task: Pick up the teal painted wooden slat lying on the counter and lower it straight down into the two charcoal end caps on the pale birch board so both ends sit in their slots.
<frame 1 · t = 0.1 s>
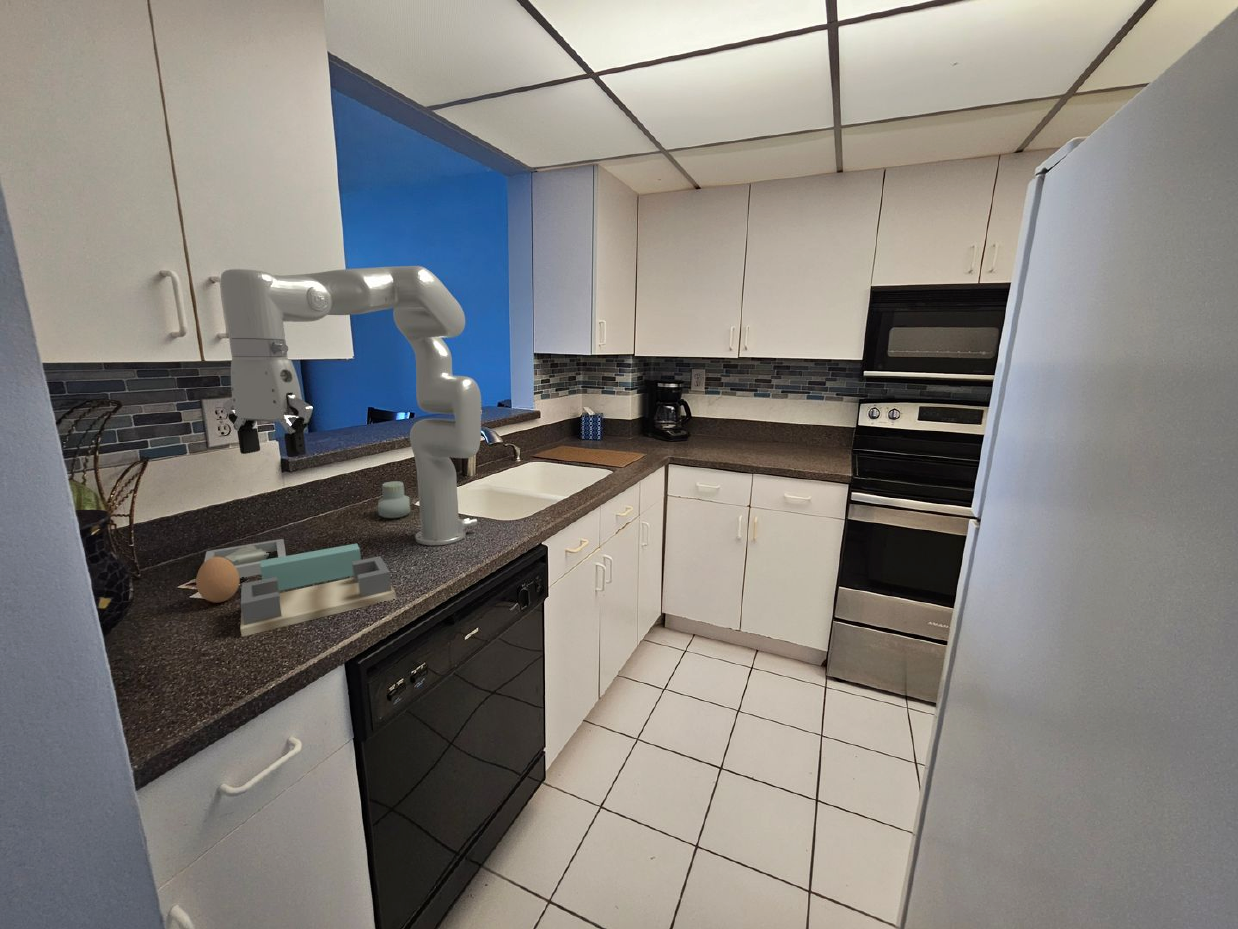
hand: (273, 454, 87), 31 cm above the worktop, tool pointing down, fingers open, 9 cm apart
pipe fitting: (246, 567, 118), resting in parts tray
air freshener: (395, 516, 154), on the worktop
base board: (321, 603, 100), on the worktop
slat: (315, 580, 111), on the worktop
egg: (221, 602, 101), on the worktop
parts tray: (247, 565, 117), on the worktop
end caps: (319, 587, 99), on the base board, point 4 cm above the worktop
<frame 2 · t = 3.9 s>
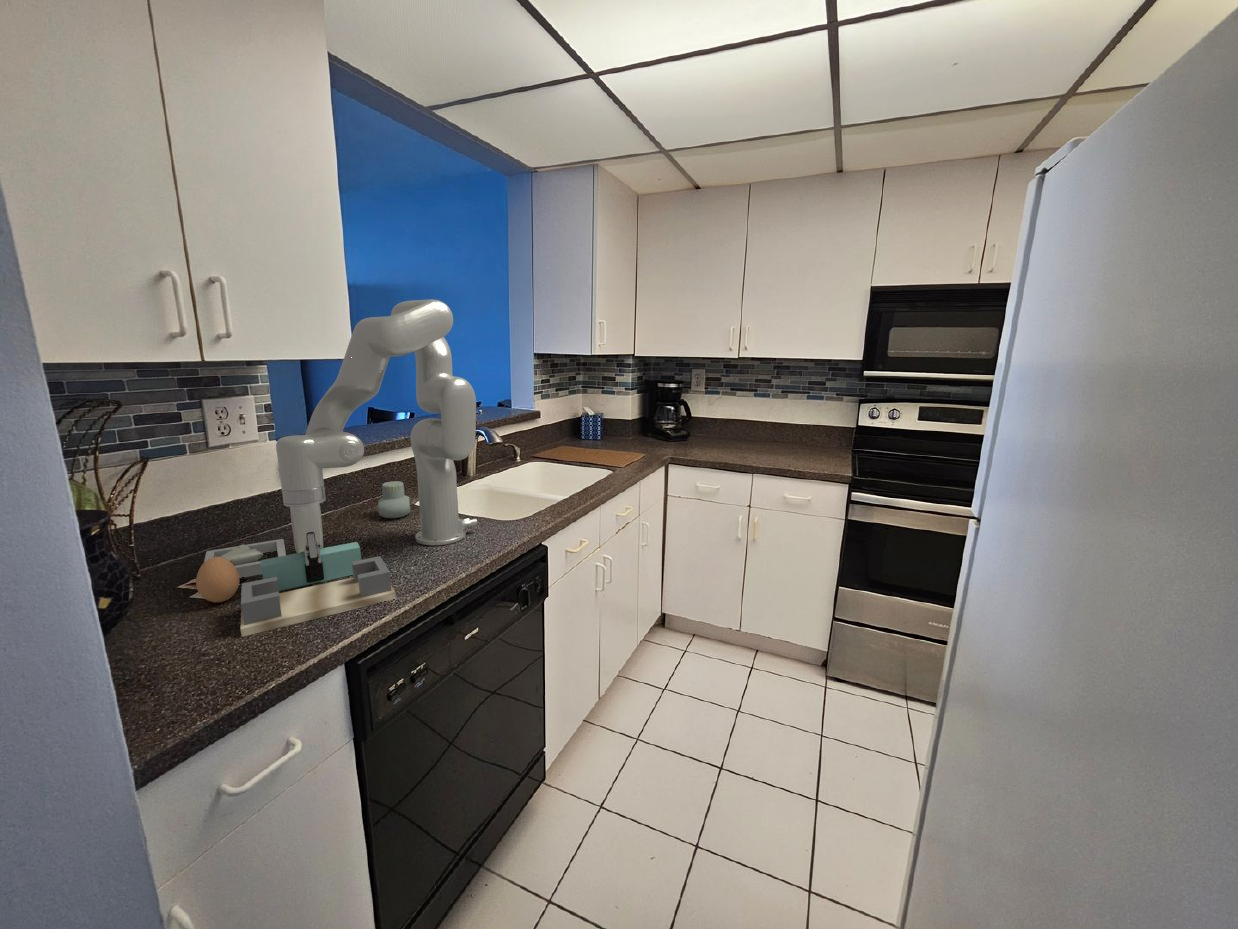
hand: (314, 576, 110), 1 cm above the worktop, tool pointing down, fingers closed on slat, 3 cm apart
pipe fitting: (241, 567, 118), resting in parts tray
slat: (315, 579, 111), on the worktop, touching gripper
everything else where it was.
when the fingers open (3 cm above the worktop, at t = 10.3 s): slat drops 1 cm, resting on base board.
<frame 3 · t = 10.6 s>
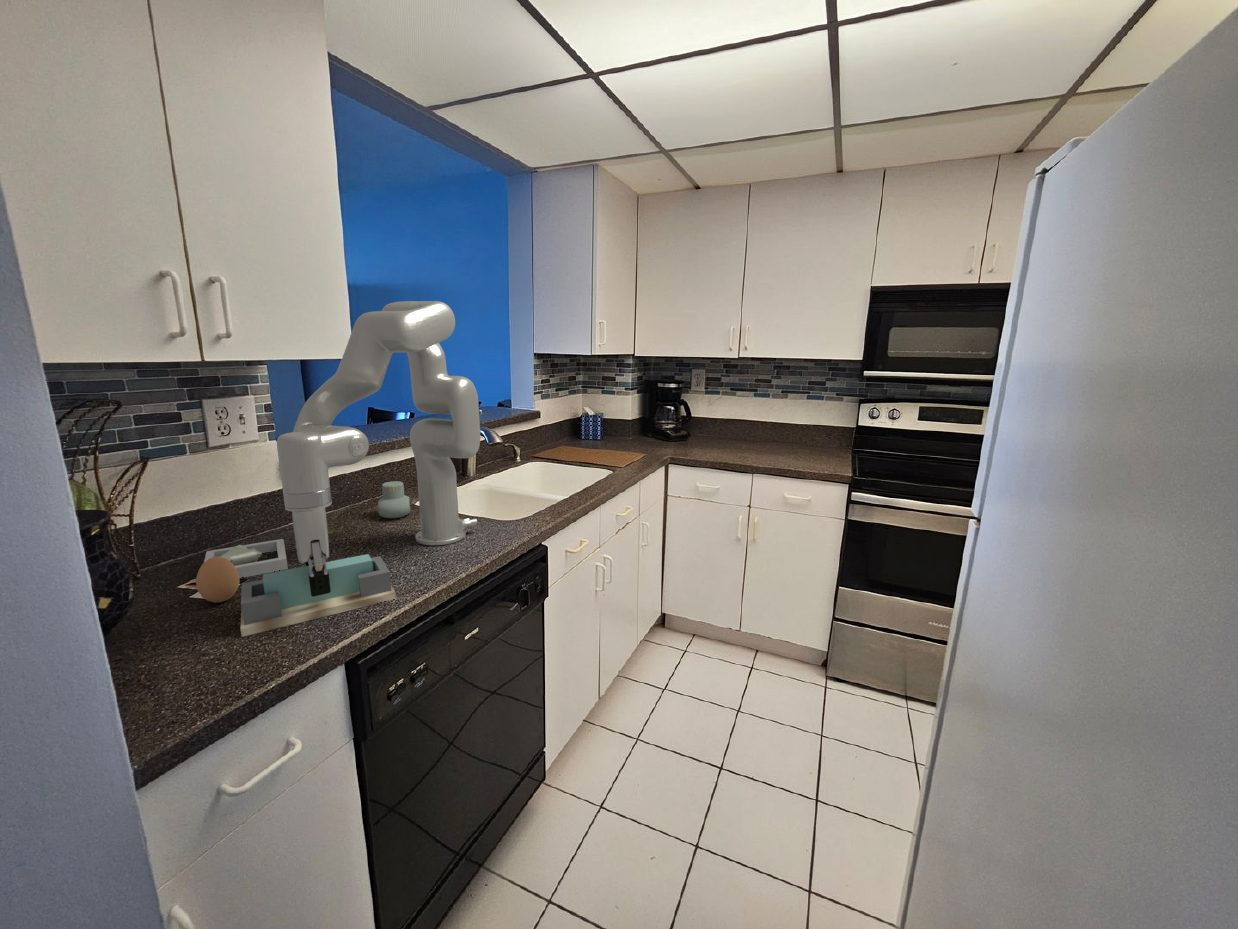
hand: (318, 586, 99), 4 cm above the worktop, tool pointing down, fingers open, 7 cm apart
slat: (322, 595, 100), point 1 cm above the worktop, touching base board
everything else where it was.
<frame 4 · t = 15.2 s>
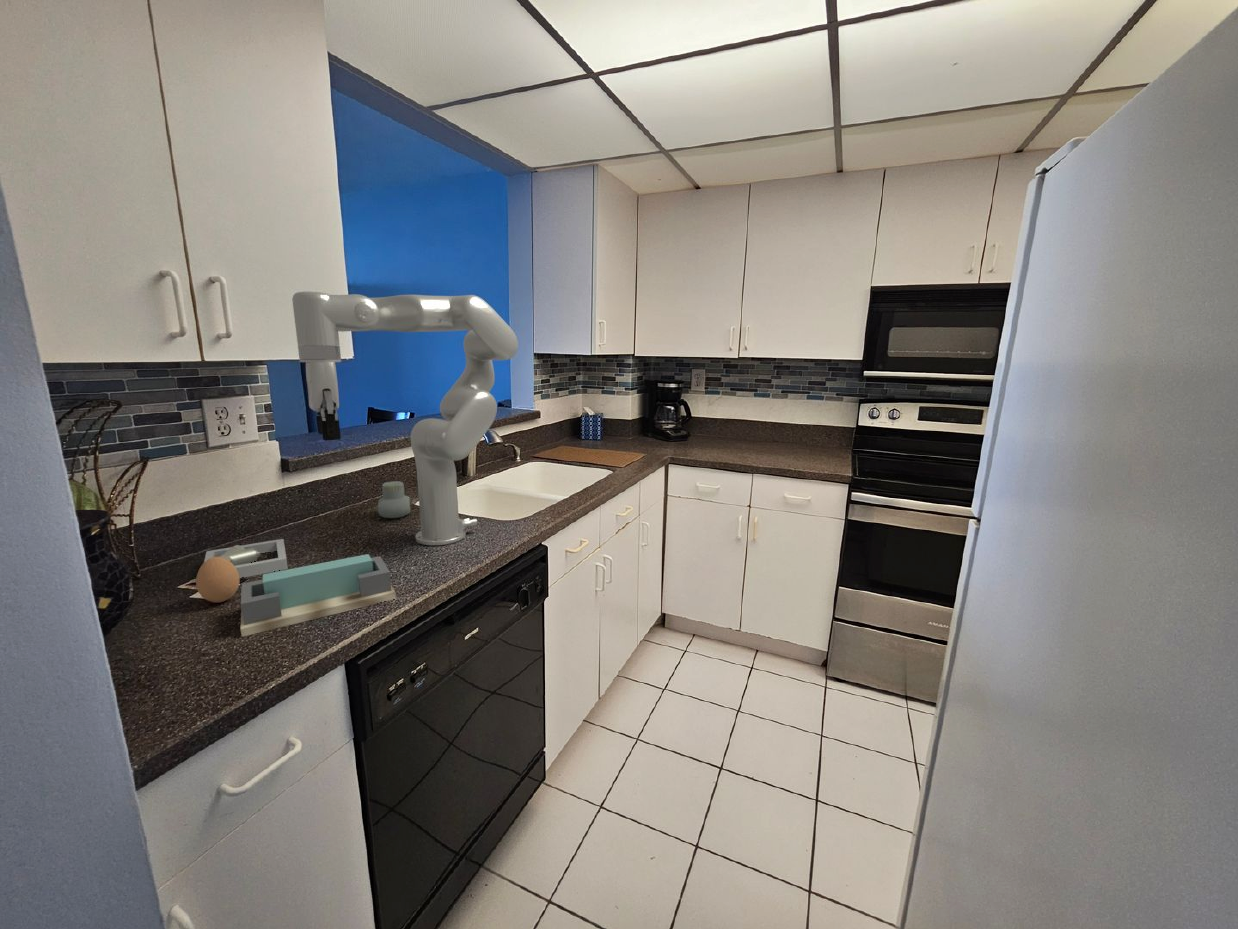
hand: (329, 436, 110), 30 cm above the worktop, tool pointing down, fingers open, 9 cm apart
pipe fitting: (239, 567, 117), resting in parts tray
everything else where it was.
at the end: slat 0.4 cm off-centre on the base board, point 1.5 cm above the base board's base; slat tilted 0°; the gripper is holding nothing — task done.
